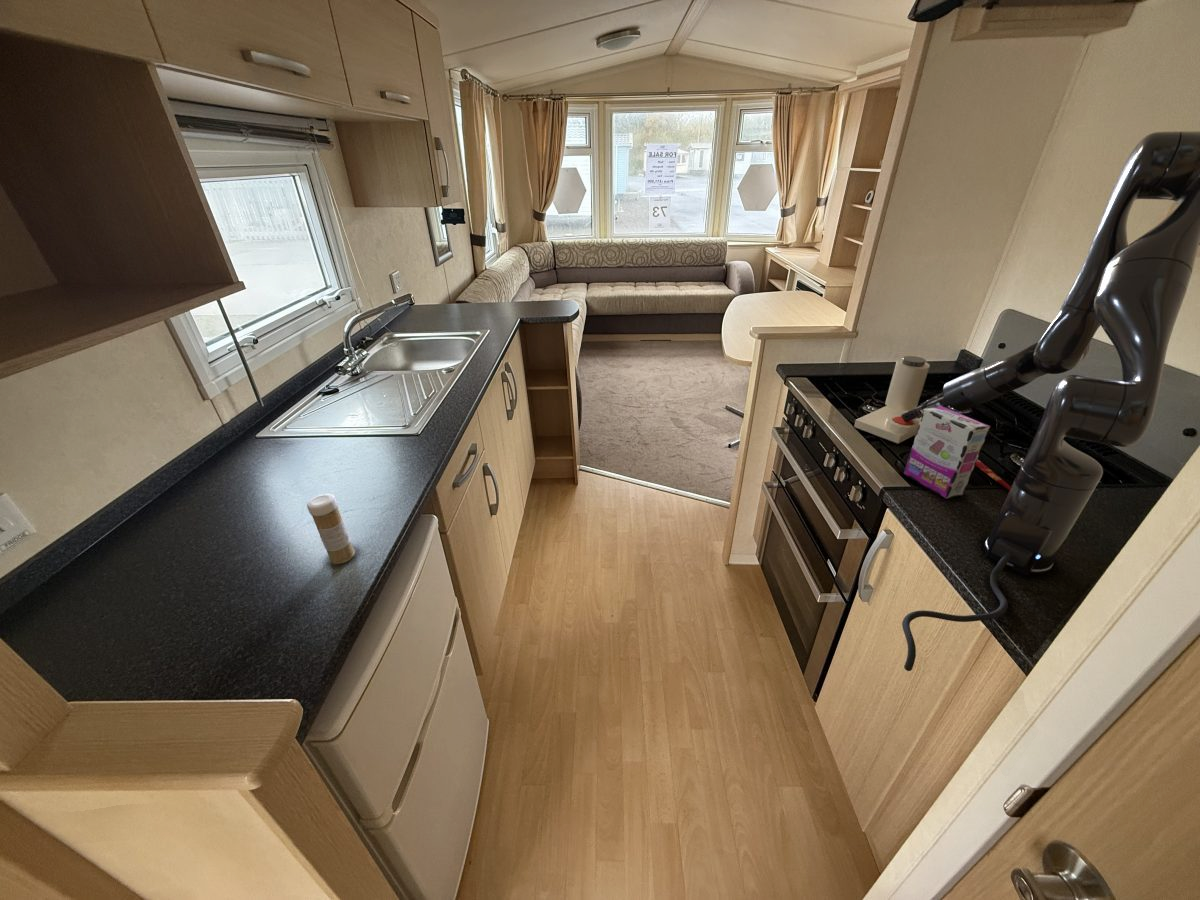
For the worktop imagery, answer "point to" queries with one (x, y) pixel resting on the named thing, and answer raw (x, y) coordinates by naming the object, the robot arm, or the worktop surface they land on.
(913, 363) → the white canister
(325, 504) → the sprinkles bottle
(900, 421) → the switch
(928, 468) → the candy bar box
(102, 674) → the worktop surface
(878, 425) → the cream square base
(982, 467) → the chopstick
